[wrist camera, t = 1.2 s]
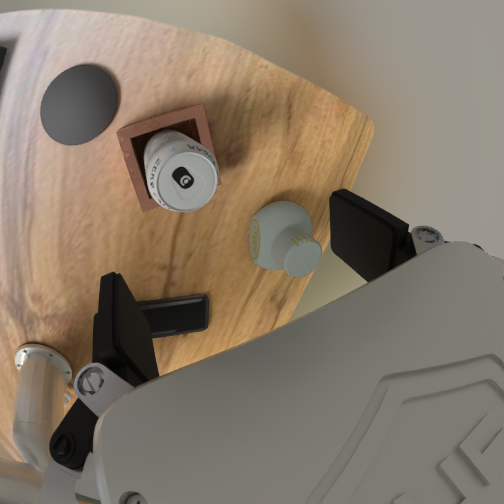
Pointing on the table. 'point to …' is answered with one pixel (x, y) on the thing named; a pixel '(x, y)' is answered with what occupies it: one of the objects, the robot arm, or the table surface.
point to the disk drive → (2, 55)
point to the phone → (176, 315)
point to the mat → (78, 105)
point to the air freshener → (284, 239)
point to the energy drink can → (179, 171)
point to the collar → (127, 133)
